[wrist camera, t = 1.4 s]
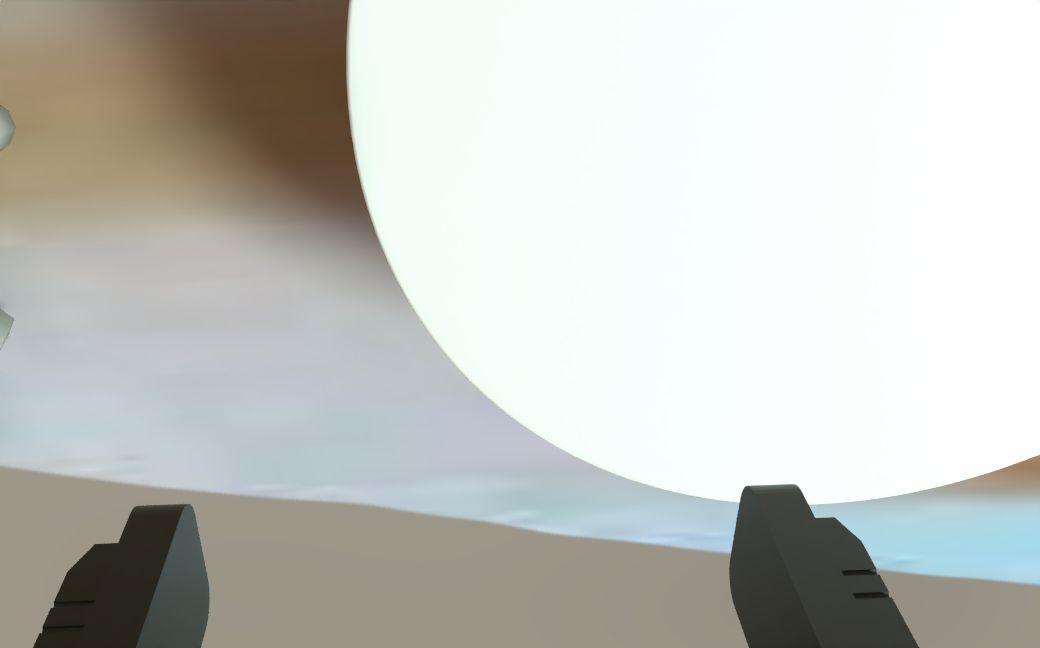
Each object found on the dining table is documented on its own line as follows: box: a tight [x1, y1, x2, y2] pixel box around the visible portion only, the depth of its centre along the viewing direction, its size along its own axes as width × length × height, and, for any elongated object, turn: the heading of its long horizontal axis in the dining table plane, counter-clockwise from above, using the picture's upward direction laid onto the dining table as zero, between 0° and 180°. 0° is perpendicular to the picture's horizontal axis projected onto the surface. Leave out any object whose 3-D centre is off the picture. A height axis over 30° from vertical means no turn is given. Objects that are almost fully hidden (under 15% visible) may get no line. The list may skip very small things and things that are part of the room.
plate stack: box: [346, 0, 1040, 504], centre depth 28 cm, size 28×28×12 cm
